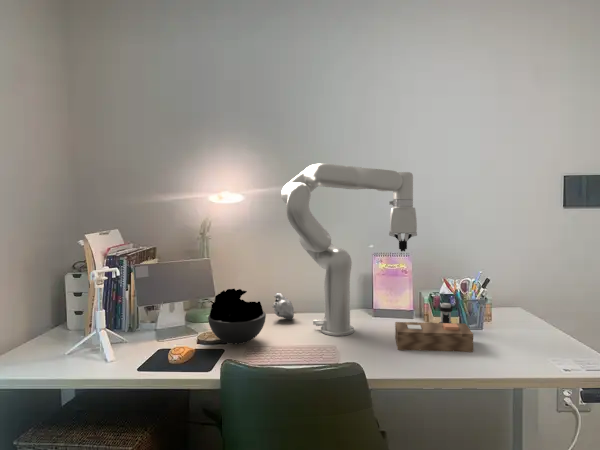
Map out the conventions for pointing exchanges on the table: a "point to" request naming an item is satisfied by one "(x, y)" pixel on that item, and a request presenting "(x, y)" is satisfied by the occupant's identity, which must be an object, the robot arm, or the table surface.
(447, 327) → the orange block
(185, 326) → the table surface
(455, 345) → the button box
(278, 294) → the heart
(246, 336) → the coal bowl
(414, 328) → the grey plunger
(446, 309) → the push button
